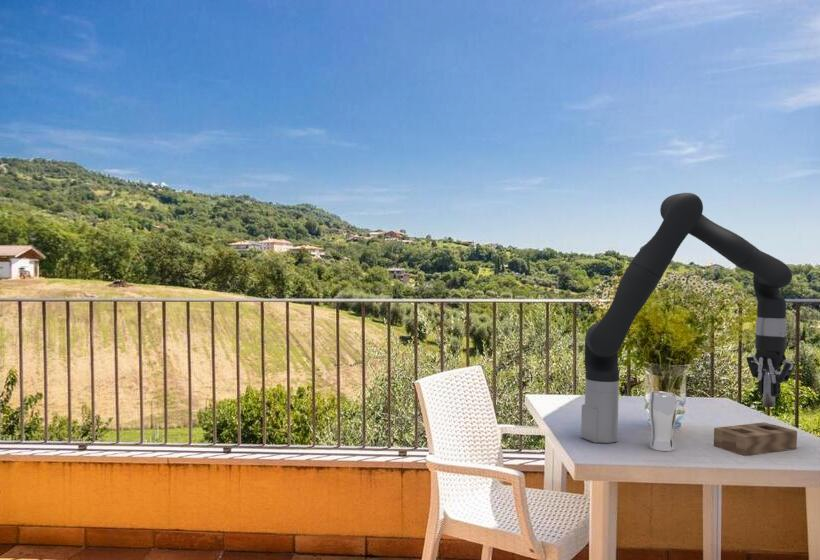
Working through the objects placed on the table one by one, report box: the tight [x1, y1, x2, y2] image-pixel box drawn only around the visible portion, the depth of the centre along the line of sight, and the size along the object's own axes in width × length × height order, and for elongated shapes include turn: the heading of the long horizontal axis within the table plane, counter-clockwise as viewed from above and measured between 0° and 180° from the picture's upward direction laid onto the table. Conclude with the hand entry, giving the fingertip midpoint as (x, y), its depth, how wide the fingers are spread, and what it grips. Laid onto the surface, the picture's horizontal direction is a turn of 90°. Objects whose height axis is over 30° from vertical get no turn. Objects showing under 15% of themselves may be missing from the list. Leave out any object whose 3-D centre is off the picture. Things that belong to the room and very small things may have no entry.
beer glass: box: [648, 390, 678, 452], centre depth 172 cm, size 7×7×15 cm
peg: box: [762, 370, 777, 408], centre depth 177 cm, size 3×3×10 cm
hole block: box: [713, 421, 798, 457], centre depth 175 cm, size 20×10×5 cm, turn 113°
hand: (769, 394), depth 177 cm, fingers closed on peg, 3 cm apart
